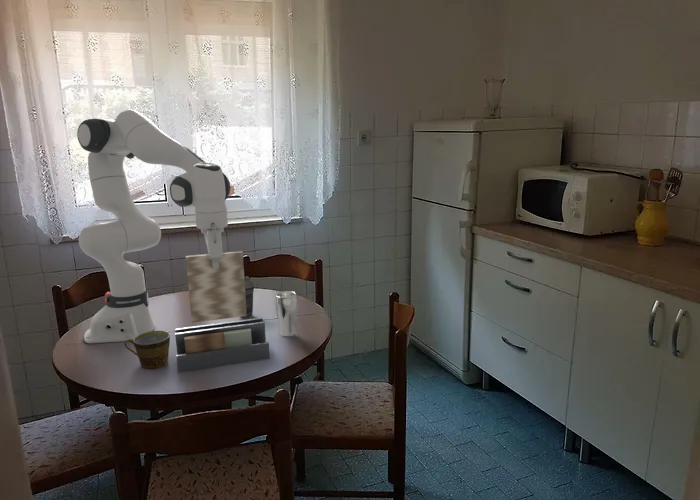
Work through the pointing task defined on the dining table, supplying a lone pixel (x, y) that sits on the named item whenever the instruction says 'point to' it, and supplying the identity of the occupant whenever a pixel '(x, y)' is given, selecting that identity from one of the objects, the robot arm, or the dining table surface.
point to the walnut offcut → (204, 342)
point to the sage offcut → (237, 338)
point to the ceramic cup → (151, 349)
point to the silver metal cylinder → (287, 312)
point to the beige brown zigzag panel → (216, 287)
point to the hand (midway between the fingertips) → (215, 266)
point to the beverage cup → (248, 297)
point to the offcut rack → (224, 355)
